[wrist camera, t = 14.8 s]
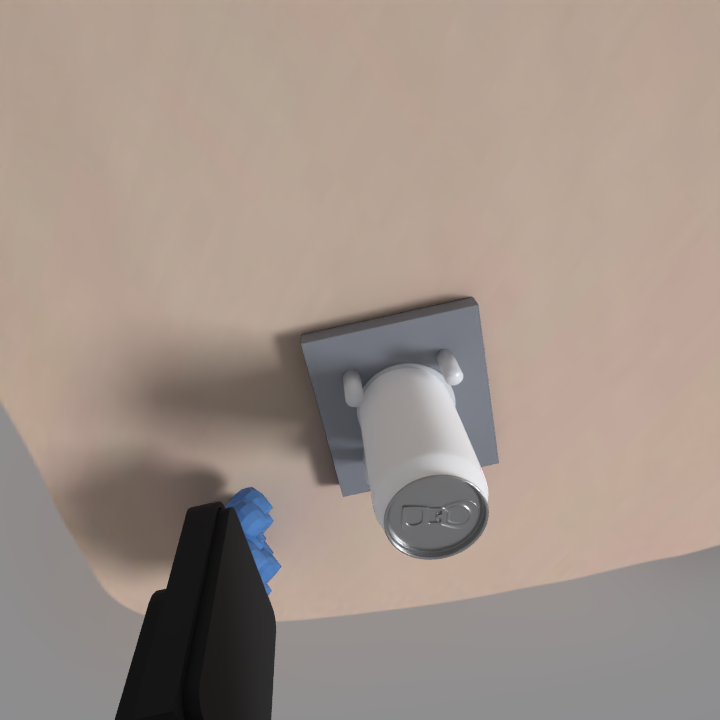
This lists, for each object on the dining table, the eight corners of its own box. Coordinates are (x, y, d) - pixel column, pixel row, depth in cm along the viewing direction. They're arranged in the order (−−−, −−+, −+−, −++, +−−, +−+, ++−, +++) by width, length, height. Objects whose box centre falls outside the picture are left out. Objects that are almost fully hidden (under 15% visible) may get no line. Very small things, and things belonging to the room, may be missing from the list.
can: (446, 443, 45) (490, 563, 34) (357, 446, 45) (374, 568, 34) (453, 363, 42) (503, 466, 31) (358, 365, 42) (376, 471, 31)
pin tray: (301, 335, 42) (300, 364, 38) (472, 297, 42) (490, 322, 38) (341, 484, 48) (345, 523, 44) (493, 451, 48) (510, 487, 44)
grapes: (192, 447, 46) (157, 566, 35) (285, 448, 46) (278, 566, 35) (200, 567, 51) (170, 704, 40) (283, 566, 51) (276, 701, 40)
